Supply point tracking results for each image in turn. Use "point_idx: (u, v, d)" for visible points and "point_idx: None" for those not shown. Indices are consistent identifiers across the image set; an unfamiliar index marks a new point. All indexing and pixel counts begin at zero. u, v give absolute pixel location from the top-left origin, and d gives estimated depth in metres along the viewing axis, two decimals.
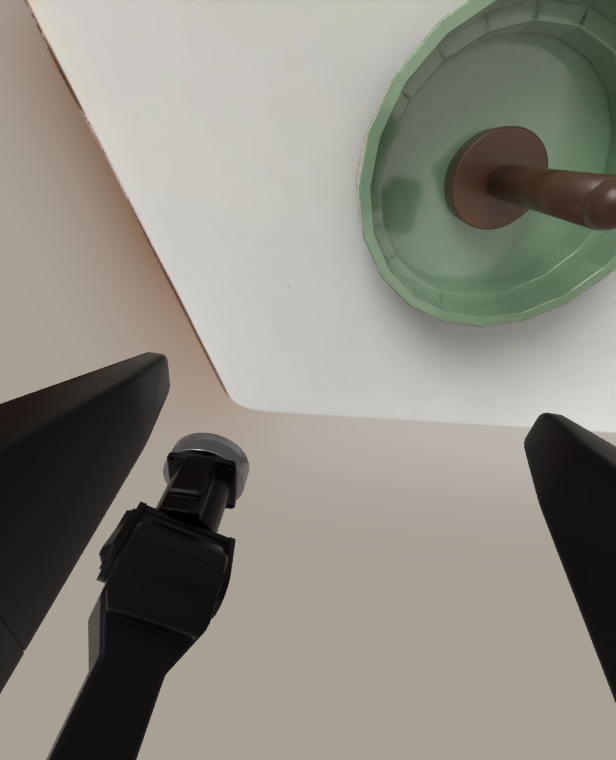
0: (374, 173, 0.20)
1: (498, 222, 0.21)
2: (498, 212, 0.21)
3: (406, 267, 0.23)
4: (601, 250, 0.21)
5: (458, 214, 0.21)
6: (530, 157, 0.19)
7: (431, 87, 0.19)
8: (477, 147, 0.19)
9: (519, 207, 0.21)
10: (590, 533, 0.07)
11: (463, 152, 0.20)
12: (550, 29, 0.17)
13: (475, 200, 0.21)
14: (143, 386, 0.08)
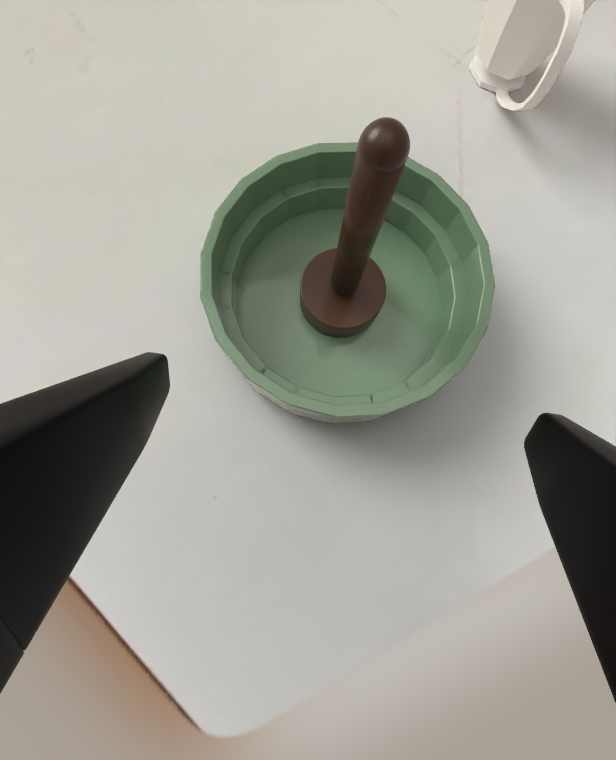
0: (233, 333, 0.20)
1: (369, 313, 0.21)
2: (362, 306, 0.21)
3: (316, 393, 0.20)
4: (471, 281, 0.20)
5: (330, 325, 0.21)
6: None
7: (250, 270, 0.23)
8: (307, 275, 0.21)
9: (376, 294, 0.21)
10: (590, 533, 0.07)
11: None
12: (305, 202, 0.23)
13: (335, 308, 0.21)
14: (143, 386, 0.08)
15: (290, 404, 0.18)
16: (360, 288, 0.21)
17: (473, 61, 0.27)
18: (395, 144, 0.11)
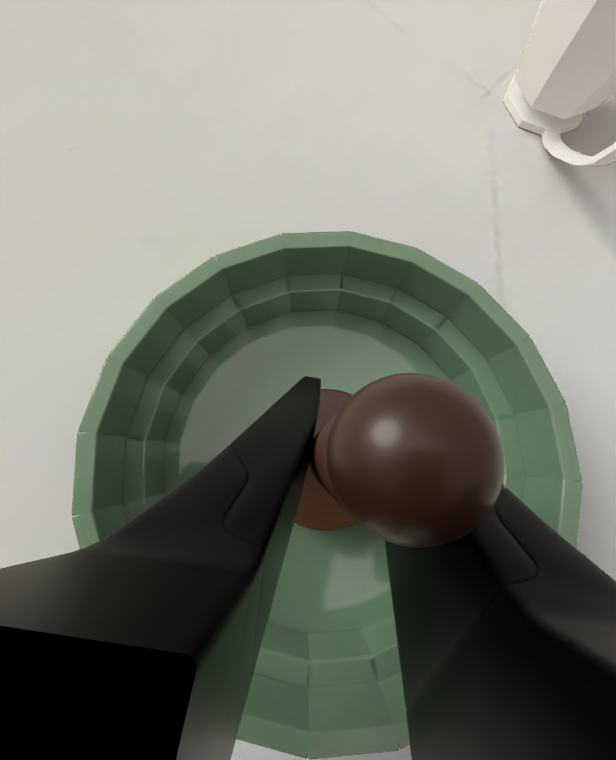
0: None
1: None
2: None
3: (280, 656, 0.12)
4: (534, 456, 0.12)
5: (305, 526, 0.13)
6: None
7: (187, 411, 0.15)
8: None
9: None
10: None
11: None
12: (270, 308, 0.15)
13: (313, 495, 0.13)
14: None
15: None
16: None
17: (510, 92, 0.19)
18: (463, 512, 0.03)
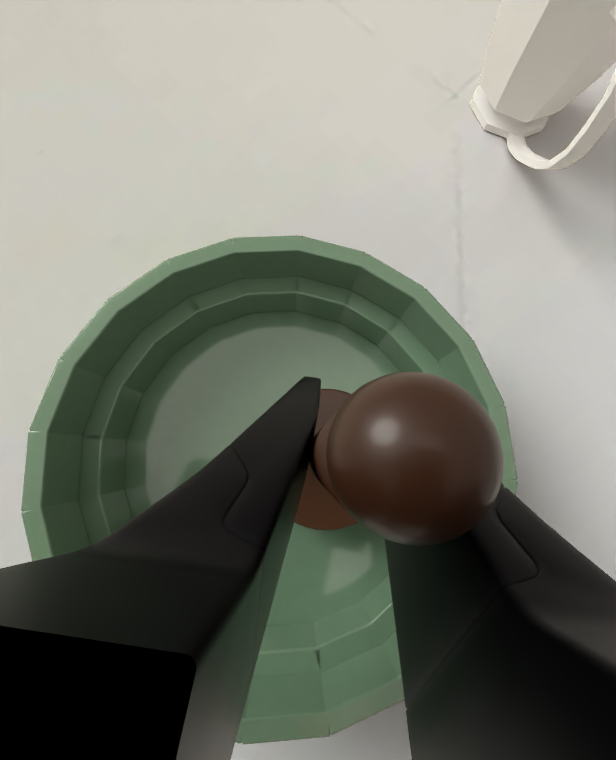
0: None
1: None
2: None
3: None
4: None
5: (305, 526, 0.13)
6: None
7: (149, 410, 0.15)
8: None
9: None
10: None
11: None
12: (229, 310, 0.15)
13: (313, 495, 0.13)
14: None
15: None
16: None
17: (475, 95, 0.20)
18: (463, 510, 0.03)
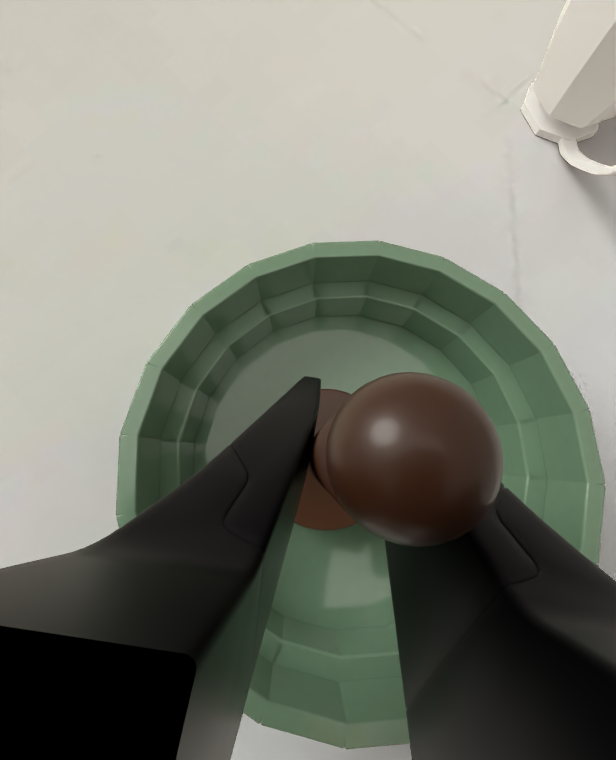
0: None
1: None
2: None
3: (312, 652, 0.12)
4: (557, 459, 0.13)
5: (305, 526, 0.13)
6: None
7: (215, 414, 0.15)
8: None
9: None
10: None
11: None
12: (296, 314, 0.15)
13: (313, 495, 0.13)
14: None
15: (265, 725, 0.10)
16: None
17: (527, 101, 0.20)
18: (462, 511, 0.03)
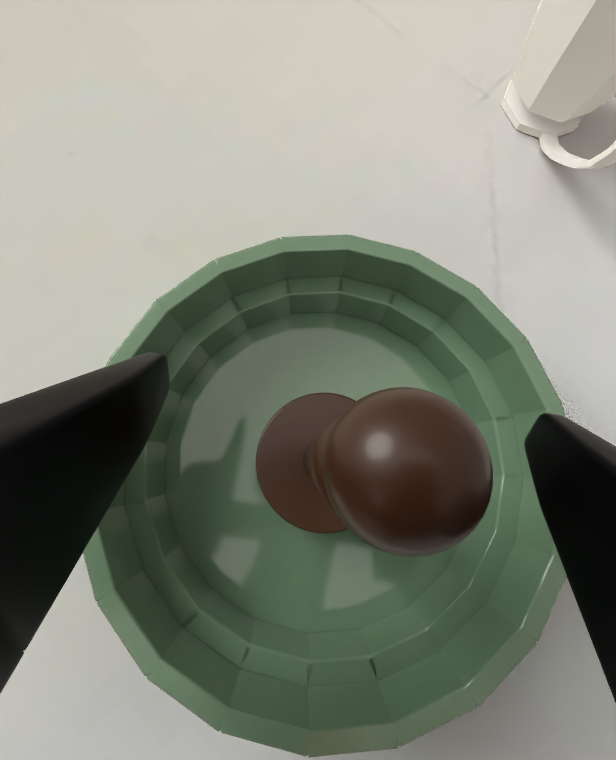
0: (144, 548, 0.12)
1: None
2: None
3: (280, 656, 0.12)
4: None
5: (303, 529, 0.13)
6: None
7: (188, 413, 0.15)
8: (267, 442, 0.13)
9: None
10: (590, 533, 0.07)
11: None
12: (269, 311, 0.15)
13: (311, 499, 0.13)
14: (143, 386, 0.08)
15: (225, 732, 0.10)
16: None
17: (507, 95, 0.19)
18: (453, 524, 0.03)
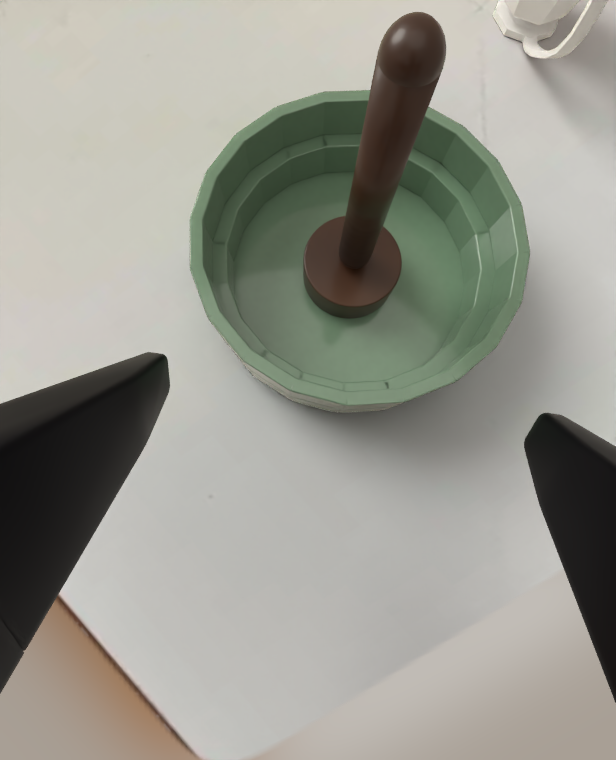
0: (228, 311, 0.18)
1: (383, 289, 0.18)
2: (375, 281, 0.18)
3: (323, 379, 0.17)
4: (501, 250, 0.18)
5: (338, 304, 0.18)
6: None
7: (249, 242, 0.20)
8: (311, 247, 0.19)
9: (390, 268, 0.18)
10: (590, 533, 0.07)
11: None
12: (310, 164, 0.20)
13: (343, 284, 0.18)
14: (143, 386, 0.08)
15: (294, 391, 0.15)
16: (372, 261, 0.18)
17: (497, 6, 0.24)
18: (428, 46, 0.08)
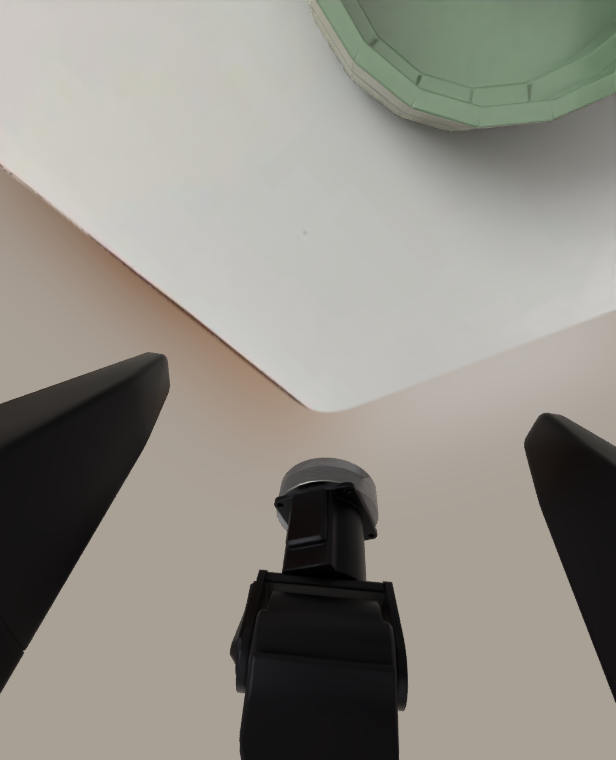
0: None
1: None
2: None
3: (447, 83, 0.14)
4: None
5: None
6: None
7: None
8: None
9: None
10: (590, 533, 0.07)
11: None
12: None
13: None
14: (143, 386, 0.08)
15: (416, 108, 0.12)
16: None
17: None
18: None
